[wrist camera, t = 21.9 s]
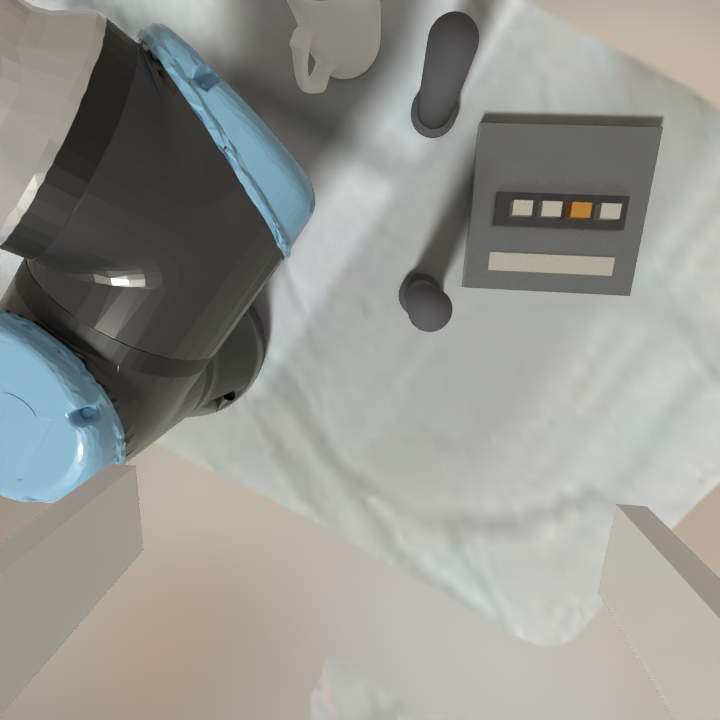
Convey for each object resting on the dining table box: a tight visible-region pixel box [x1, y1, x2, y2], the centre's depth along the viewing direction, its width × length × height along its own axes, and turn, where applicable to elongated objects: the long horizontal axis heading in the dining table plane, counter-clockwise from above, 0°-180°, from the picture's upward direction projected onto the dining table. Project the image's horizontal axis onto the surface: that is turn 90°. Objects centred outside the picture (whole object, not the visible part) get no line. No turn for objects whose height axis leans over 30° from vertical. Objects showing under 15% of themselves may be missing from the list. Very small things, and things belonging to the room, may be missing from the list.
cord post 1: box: [411, 11, 479, 138], centre depth 31 cm, size 4×4×13 cm
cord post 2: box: [399, 274, 452, 332], centre depth 35 cm, size 4×4×13 cm
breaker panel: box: [462, 123, 663, 296], centre depth 37 cm, size 15×14×3 cm
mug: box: [287, 0, 381, 94], centre depth 31 cm, size 10×7×12 cm, turn 157°
